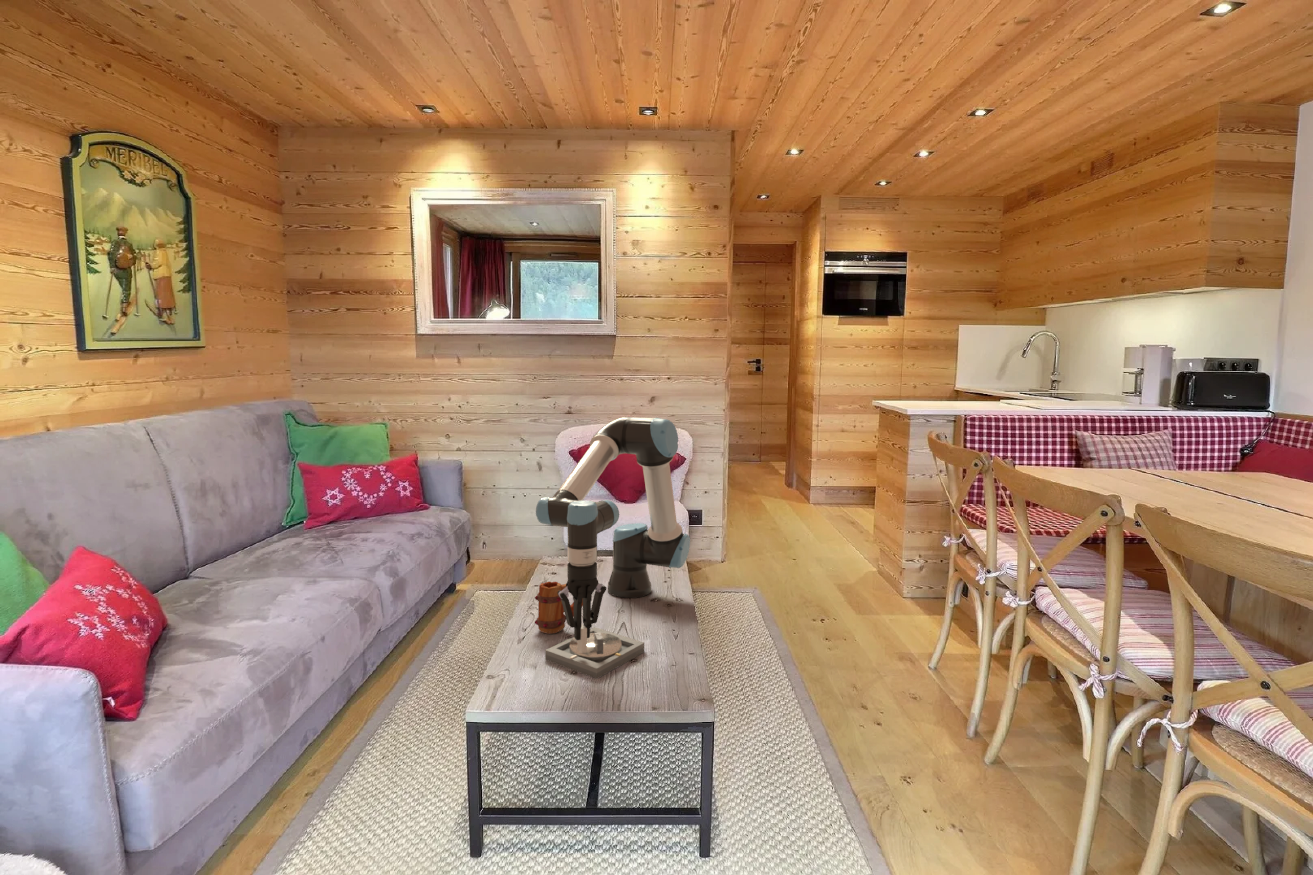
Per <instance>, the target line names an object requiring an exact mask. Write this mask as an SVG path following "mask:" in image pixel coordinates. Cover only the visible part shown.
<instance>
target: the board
mask: <svg viewBox="0 0 1313 875" xmlns="http://www.w3.org/2000/svg"><path fill="white" fill-rule="evenodd" d="M597 632H600V633H606V634H611V635H614V636H616V637H618V638H619V639H620V640H621V642H622V648H621V652H619V653H616V654H615V655H614V656H612V657H610V658H608V659H606V660H604V661H596V662H593V661H590V660H587V659H585V658H582V657H579V656H577V655H573V654H570V641H571V640H572V639H573V638H575V637H574V636H573V637H570V638H568V639H566V640H564V641H562V642H559V643H558V644H556V645H553V646H551V647H549V648H547V649H545V651H544V653H545V654H544V656H545V660H546V661H547V662H551V663H553V664H556V665H559V666H562V667H564V668H566V669H569V670H572V671H575V672H577V673H580V674H583V675H584V676H585V675H586V676H588V677H590V678H593V679H596V680H597V679H599V678H601V677H602V676H604V675H606V674H608V673H610V672H612V671H613V670H615V669H617V668H618V667H620V666H622V665H624V664H625V663H628V662H629V661H631V660H633V659H635V658H637V657H638V656H640V655H641V654H643V653H645V642H643V641H640V640H637V639H634V638H631V637H628V636H624V635H621V634H618V633H615V632H611V631H608V630H606V629H602V628H599V627H597V626H594V627H591V628H590V633H597Z"/></svg>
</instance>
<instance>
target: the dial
mask: <svg viewBox="0 0 1313 875" xmlns="http://www.w3.org/2000/svg"><path fill="white" fill-rule="evenodd" d="M621 648H622V642H621V640H620V639H619V638H618V637H616V636H614V635H611V634H606V633H600V632H597V633H590V637H589V638H587V652H585V653H581V652H580V651H579V650H578V649H577V640H576V639H575V638H573V639H572V640H571V641H570V654H573V655H577V656H579V657H582V658H585V659H587V660H590V661H593V662H596V661H604V660H606V659H608V658H610V657H612V656H614V655H615V654H616V653H619V652H621Z"/></svg>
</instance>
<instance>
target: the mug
mask: <svg viewBox="0 0 1313 875" xmlns="http://www.w3.org/2000/svg"><path fill="white" fill-rule="evenodd" d="M538 587H539V588H538V592H537V595H535V597H534V599H535V600H536V601H537V602H538V604H537V605H538V607H537V608H538V611H537V612H538V616H537V618H536V620H534V624H535V625H537V626H538V630H539V631H540V632H541V633H543V634H549V635H553V634H556V633H559V632H560V631H562V630H563V629H565V628H566V625H565V624H566V622H567V621H566V617H565V612H564V608H563V604H562V600H561V598H560V597H559V595H558V594H557V592H558V591H559V590H560V591H562V590H563V589H564V588H565V587H566V583H564V584H562V583H560V582H558V581H553V582H551V581H547V582H546V581H545V582H542V583H540V584H539V585H538ZM569 593H570V592H568V594H569ZM570 594H571V593H570ZM570 606H571V610H572V614H573V618H574V601H572V603H571V604H570ZM582 607H583V598H582Z"/></svg>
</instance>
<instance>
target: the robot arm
mask: <svg viewBox="0 0 1313 875" xmlns="http://www.w3.org/2000/svg"><path fill="white" fill-rule="evenodd" d="M678 442H679V434H678V430H677V428H676V425H675V424H674V422H672V421H671V420H669V419H667V418H661V417H635V416H634V417H633V416H623V417H621V416H620V417H619V418H616V419H613V420H612V421H609V422H608V423H607V424H605V425H604V426H603V427H601V428H600V429H599V430H598V431H596V433H595V434H594V435H593V436H592V438H591V439H590V442H589V447H588V448H587V450H586V452H585V453H584V455H583V456H582V457H581V459H580V460H579V461H578V462H577V463H576V465H575V466H574V467H573V469H572V471H571V472H570V473H569V474H568V476H567V477H566V479H565V480H564V481H563V483H562V484H561V485H560V487H558V488H559V489H557V491H556V492H555V494H554V495H553V496H545V497H544V496H543V497H542V498H540V499H539V500H538V502H537V504H536V508H535V516H536V519H537V521H538V522H539V523H540V524H543V525H548V526H552V527H560V528H561V527H563V528H567V562H568V563H567V569H566V570H567V575H566V576H567V582H566V583H565V584H566V587H565V588H564V589H563V590H562V591H560V590H559V591H558V592H557V594H558V595H559V597H560V598H561V600H562V604H563V608H564V615H565V617H566V621H565V622H566V624H567V625H568V626H569V627H570V628H573V630H574V631H573V637H575V639H576V640H577V649H578V650H579V651H580V652H581V653H585V652H587V638H589V637H590V629H591V628H593V624H596V623H597V622H598V618H599V615H600V610H601V605H602V601H603V598H604V597H603V596H604V594H605V592H606V591H607V592H608V594H610V595H611V596H615V597H617V598H625V599H626V598H627V599H631V598H632V599H633V598H642V597H645V596H648V595H649V594H651V592H652V583H651V582H652V581H651V580H650V576H649V573H648V569H647V568H648V566H647V565H649V566H650V565H651V566H656V567H664V568H669V569H671V568H672V569H674V568H675V569H681V568H682V567H684V565H685V564H686V561H687V559H688V556H689V552H690V547H691V538H690V535H689V534H687V533H684V532H683V527H682V525H681V524H680V523H678V522H677V512H676V507H675V506H676V505H675V499H674V498H675V497H674V491H673V482H672V474H671V467H670V462H672V461H673V459H674V456H675V455H676V454H677V452H678V448H679V444H678ZM623 454H627V455H635V457H636V463H637V465H639V466H641V467H642V472H643V478H644V484H645V494H646V499H647V505H648V514H649V521H650V527H648V525H647V524H646V523H643V522H642V523H641V522H637V523H636V522H635V523H626V524H623V525H620V526H617V527H616V528H615V529H614V530H613V534H612V535H613V537H612V571H611V574H610V577H609V581H608V583H607V587H606V586H605V585H604V584H602V583H599V580H598V578H597V576H598V563H597V560H598V534H600V533H601V532H602V533H603V532H604V531H607V530H609V529H611V528H612V527H613V526H614V525H616V524H617V522H618V521H619V519H620V509H619V508H618V506H617V504H616V503H615V502H613V501H611V500H609V499H604V500H602V499H601V500H599V501H597V502H596V501H591V500H584V499H585V498H586V497H587V496H588V494H589V492H590V491H591V490H592V488H593V487H594V485H595V483H596V482H597V481H598V479H599V478H600V476H601V475H602V474H603V472H604V471H605V469H606V467H607V466H608V465H609V464H610V462H611V461H614V460H615V459H617V458H618V456H619V455H623ZM569 592H570V594H569ZM593 594H594V595H593ZM569 595H571V596H572V602H574V617H573V614H572V610H571V606H570V605H571V604H570V599H569V597H570V596H569ZM592 595H593V596H592ZM582 598H583V606H582ZM592 598H593V600H592Z"/></svg>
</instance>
